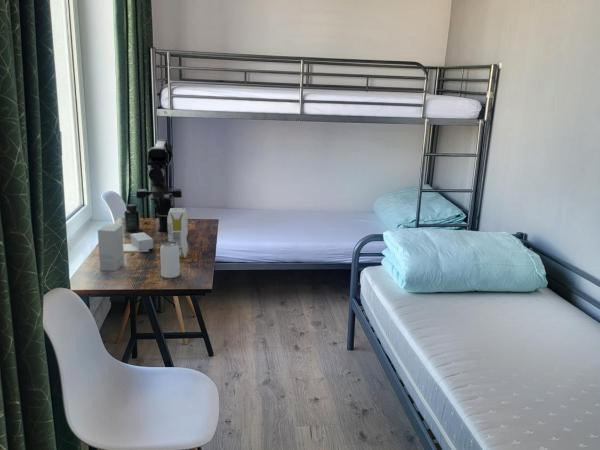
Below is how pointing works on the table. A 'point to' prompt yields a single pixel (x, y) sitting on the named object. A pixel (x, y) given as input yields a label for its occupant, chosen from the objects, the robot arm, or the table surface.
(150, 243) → the skincare box
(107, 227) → the skincare box
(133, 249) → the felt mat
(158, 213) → the robot arm
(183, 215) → the juice carton
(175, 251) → the can
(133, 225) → the supplement bottle
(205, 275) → the table surface
